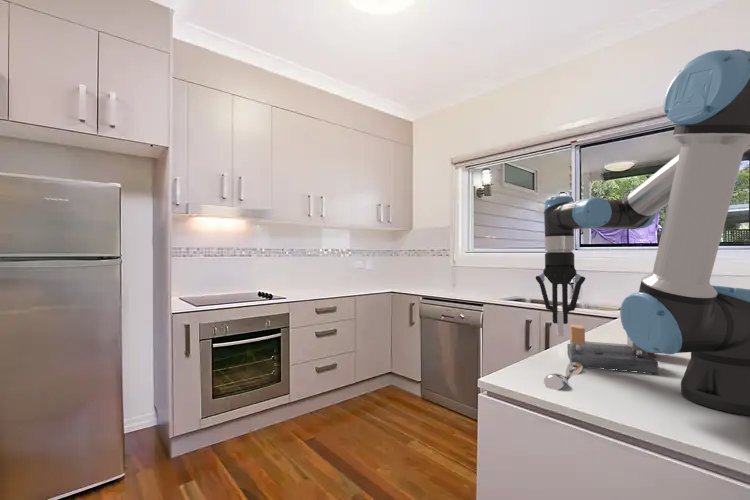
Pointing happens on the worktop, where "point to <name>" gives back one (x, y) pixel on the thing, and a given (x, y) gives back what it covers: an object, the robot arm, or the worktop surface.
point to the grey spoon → (561, 377)
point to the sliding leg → (577, 335)
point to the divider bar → (612, 347)
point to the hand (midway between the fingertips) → (560, 335)
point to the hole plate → (613, 360)
